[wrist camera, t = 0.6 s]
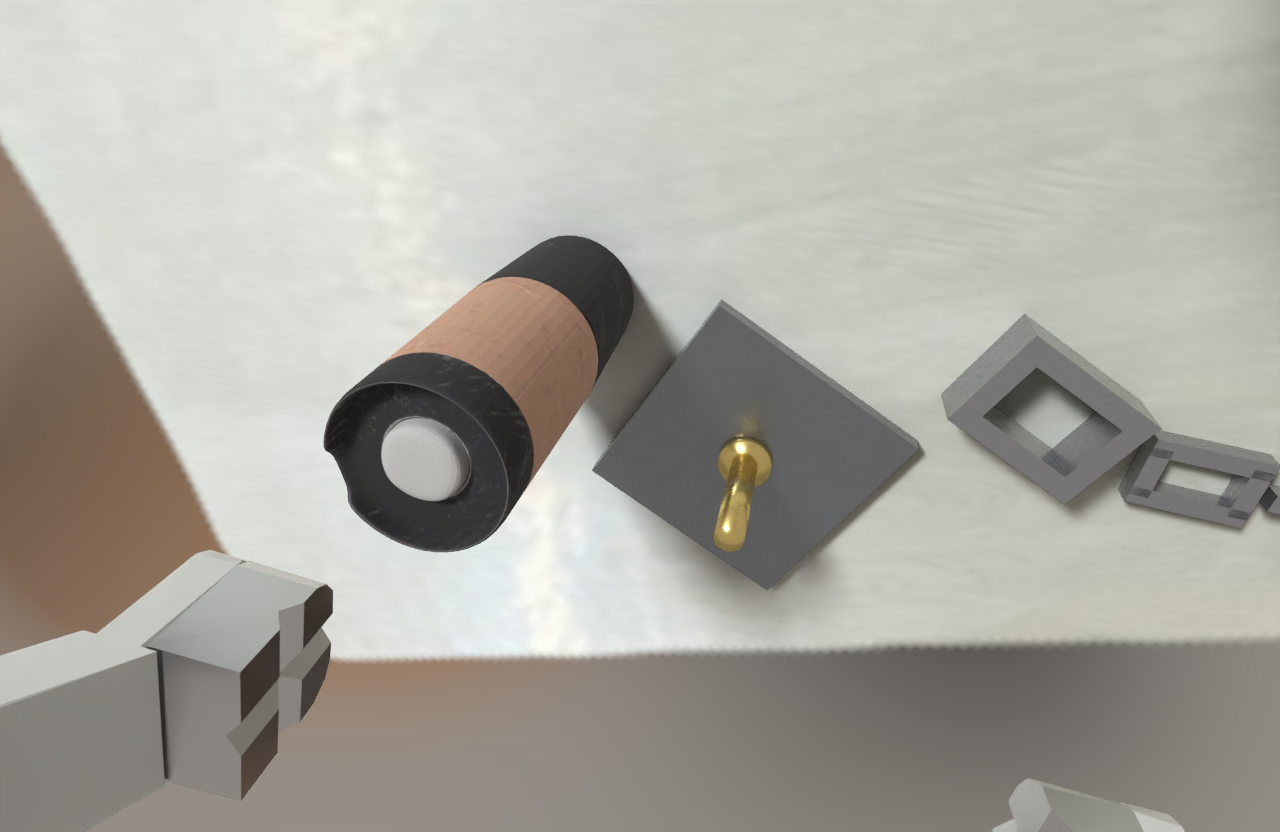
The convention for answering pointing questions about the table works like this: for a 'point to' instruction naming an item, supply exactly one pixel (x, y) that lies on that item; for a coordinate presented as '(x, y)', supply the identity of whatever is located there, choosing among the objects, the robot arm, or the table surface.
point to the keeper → (752, 448)
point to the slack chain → (1246, 465)
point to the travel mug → (480, 397)
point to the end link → (1055, 469)
